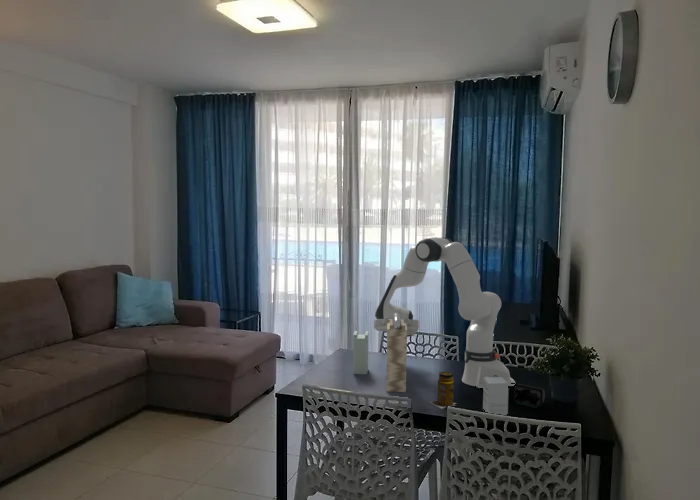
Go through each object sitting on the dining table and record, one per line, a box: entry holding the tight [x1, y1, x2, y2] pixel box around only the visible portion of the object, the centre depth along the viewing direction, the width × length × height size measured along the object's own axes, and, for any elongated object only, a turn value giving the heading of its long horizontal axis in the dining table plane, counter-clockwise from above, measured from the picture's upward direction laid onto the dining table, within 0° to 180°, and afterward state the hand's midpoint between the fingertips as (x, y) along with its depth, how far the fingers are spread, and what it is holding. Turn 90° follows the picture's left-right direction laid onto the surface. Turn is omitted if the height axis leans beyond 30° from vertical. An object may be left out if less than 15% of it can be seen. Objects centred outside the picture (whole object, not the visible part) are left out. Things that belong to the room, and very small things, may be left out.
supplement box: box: [482, 377, 509, 415], centre depth 193 cm, size 7×7×13 cm
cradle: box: [352, 330, 369, 375], centre depth 242 cm, size 6×8×18 cm
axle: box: [393, 313, 401, 329], centre depth 224 cm, size 20×3×3 cm, turn 176°
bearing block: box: [385, 319, 408, 393], centre depth 221 cm, size 8×12×28 cm, turn 176°
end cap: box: [513, 383, 546, 406], centre depth 203 cm, size 10×7×7 cm
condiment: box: [428, 371, 457, 409], centre depth 202 cm, size 7×8×12 cm
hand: (396, 319), depth 233 cm, fingers open, 8 cm apart
